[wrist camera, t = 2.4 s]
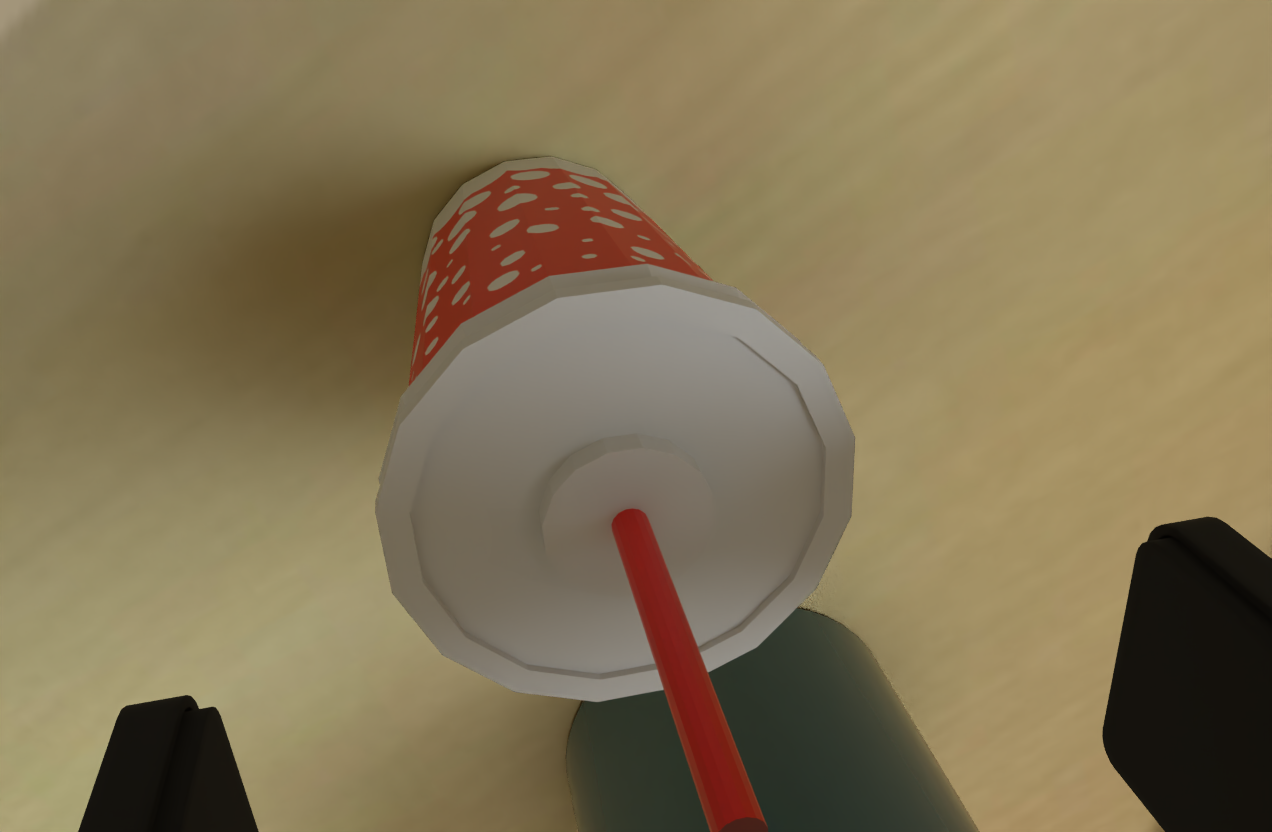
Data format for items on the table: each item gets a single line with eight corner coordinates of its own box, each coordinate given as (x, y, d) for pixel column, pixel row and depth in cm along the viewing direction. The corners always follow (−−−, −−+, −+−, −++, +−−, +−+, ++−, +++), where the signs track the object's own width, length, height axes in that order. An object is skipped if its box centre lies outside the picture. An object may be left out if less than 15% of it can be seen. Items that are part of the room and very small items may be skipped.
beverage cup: (665, 412, 23) (967, 1027, 11) (377, 403, 22) (358, 1102, 9) (712, 131, 20) (1181, 533, 8) (387, 98, 19) (378, 532, 7)
